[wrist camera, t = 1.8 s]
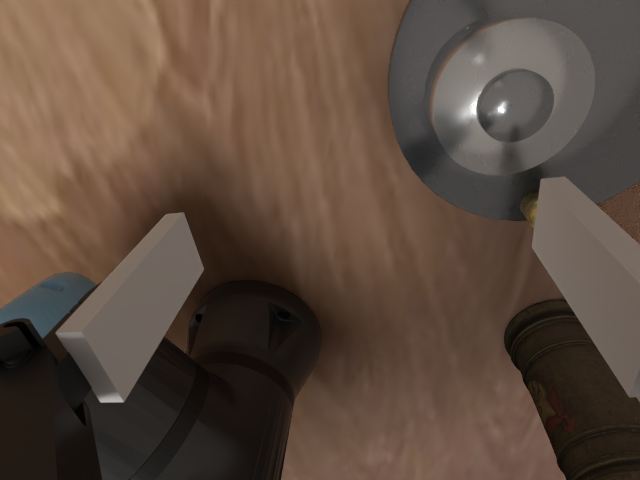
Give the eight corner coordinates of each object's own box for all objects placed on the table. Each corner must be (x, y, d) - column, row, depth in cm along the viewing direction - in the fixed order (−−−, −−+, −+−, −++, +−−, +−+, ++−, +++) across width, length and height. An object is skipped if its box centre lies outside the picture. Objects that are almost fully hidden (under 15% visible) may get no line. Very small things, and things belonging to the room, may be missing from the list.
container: (567, 285, 40) (690, 467, 25) (608, 338, 43) (741, 530, 27) (486, 326, 44) (548, 505, 28) (528, 372, 46) (606, 557, 31)
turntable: (396, 220, 37) (400, 249, 32) (375, -83, 26) (377, -98, 21) (669, 196, 33) (714, 226, 29) (783, -170, 22) (883, -210, 18)
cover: (425, 156, 31) (436, 187, 26) (422, 27, 27) (434, 34, 22) (550, 142, 30) (588, 173, 25) (569, 2, 25) (620, 4, 20)
